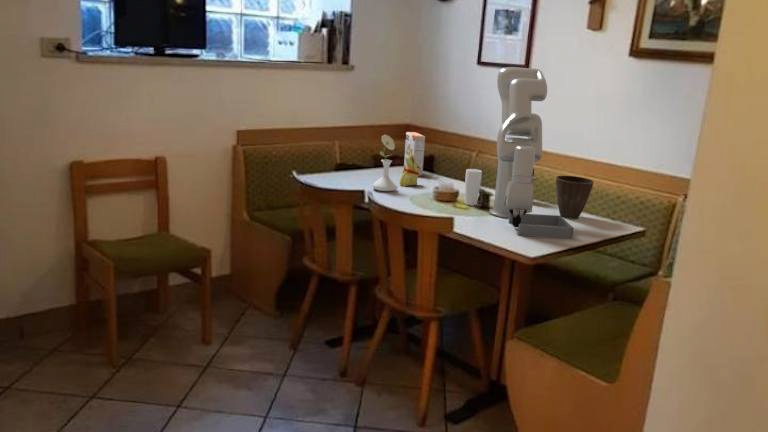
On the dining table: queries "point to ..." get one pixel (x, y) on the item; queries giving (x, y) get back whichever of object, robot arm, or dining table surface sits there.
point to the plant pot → (572, 195)
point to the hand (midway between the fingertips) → (515, 226)
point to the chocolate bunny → (410, 172)
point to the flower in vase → (386, 168)
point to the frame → (554, 229)
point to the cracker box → (415, 148)
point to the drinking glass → (472, 186)
